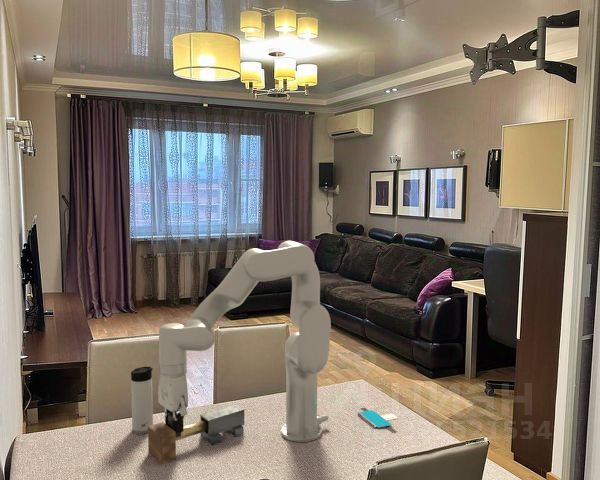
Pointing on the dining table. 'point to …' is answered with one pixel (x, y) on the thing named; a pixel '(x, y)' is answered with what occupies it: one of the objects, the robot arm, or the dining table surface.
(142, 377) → the travel mug
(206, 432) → the metal sleeve
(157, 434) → the walnut socket
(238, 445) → the dining table surface
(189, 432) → the brass rod
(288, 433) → the robot arm
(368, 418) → the cyan and grey device
